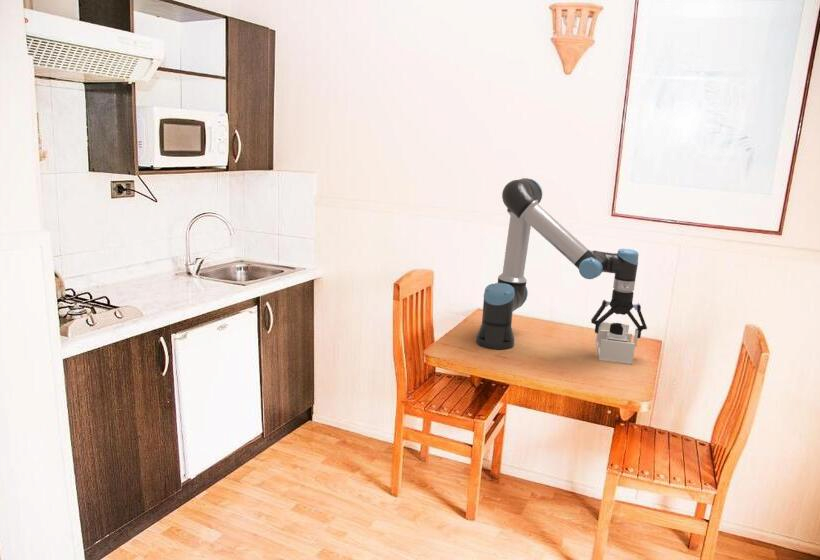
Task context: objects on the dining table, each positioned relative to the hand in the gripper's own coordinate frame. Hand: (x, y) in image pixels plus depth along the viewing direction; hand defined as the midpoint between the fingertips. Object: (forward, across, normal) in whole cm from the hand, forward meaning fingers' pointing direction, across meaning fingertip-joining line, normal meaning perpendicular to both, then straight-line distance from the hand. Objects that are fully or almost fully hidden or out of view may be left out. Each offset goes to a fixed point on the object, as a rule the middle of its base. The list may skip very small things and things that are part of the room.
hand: (616, 343), depth 239 cm
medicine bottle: (+4, 0, 0) cm, 4 cm away
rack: (+5, 0, +6) cm, 8 cm away
